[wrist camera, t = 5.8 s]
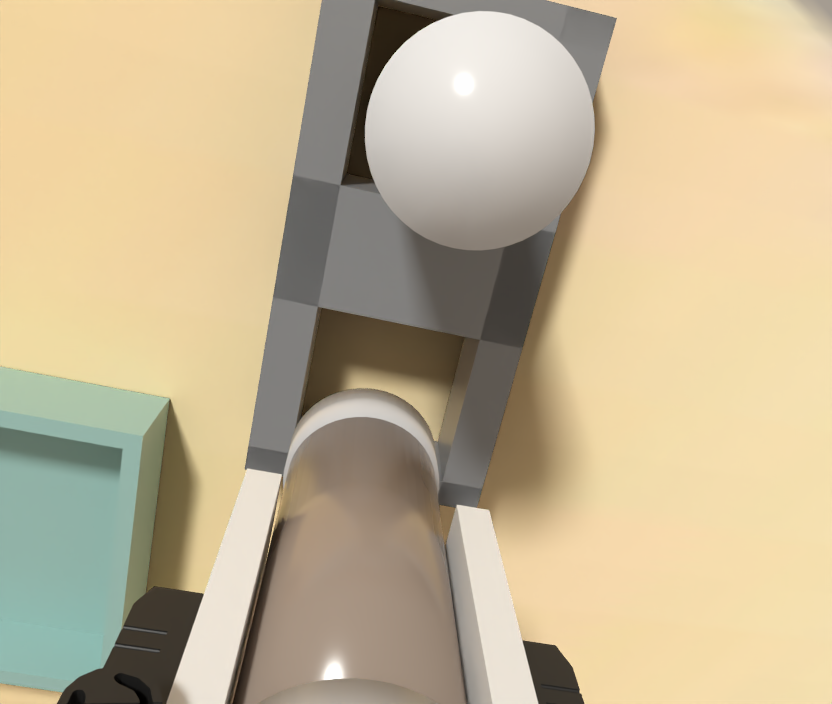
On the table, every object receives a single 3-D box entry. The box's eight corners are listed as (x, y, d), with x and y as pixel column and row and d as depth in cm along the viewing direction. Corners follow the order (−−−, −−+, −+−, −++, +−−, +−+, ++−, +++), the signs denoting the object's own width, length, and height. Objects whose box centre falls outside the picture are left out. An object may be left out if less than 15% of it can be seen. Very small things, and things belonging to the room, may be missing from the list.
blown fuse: (417, 528, 22) (457, 1014, 10) (279, 505, 21) (164, 987, 10) (449, 403, 20) (536, 802, 9) (303, 376, 20) (201, 759, 9)
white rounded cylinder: (485, 185, 25) (558, 270, 14) (368, 159, 25) (345, 224, 14) (516, 60, 24) (624, 43, 13) (393, 30, 23) (391, -16, 12)
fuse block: (467, 469, 29) (475, 511, 26) (259, 430, 28) (244, 469, 25) (590, 25, 24) (616, 18, 21) (338, -38, 23) (330, -54, 20)
